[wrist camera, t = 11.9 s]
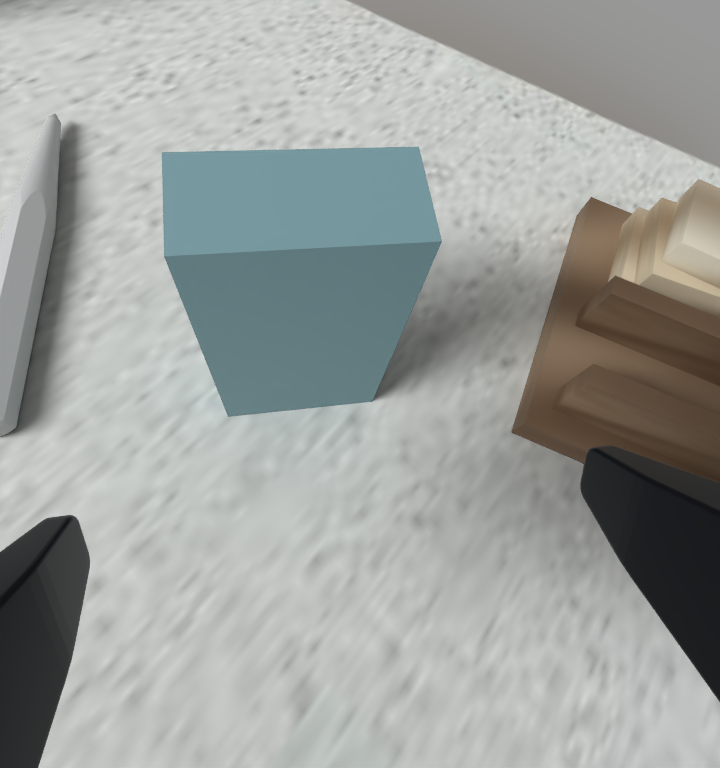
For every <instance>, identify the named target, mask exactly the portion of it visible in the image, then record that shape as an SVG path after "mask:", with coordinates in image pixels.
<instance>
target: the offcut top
mask: <svg viewBox="0 0 720 768" xmlns="http://www.w3.org/2000/svg"><path fill="white" fill-rule="evenodd" d="M660 262H662V263H665V264H667V265H669V266H671V267H673V268H675V269H678V270H680V271H682V272H684V273H686V274H689V275H691V276H693V277H695V278H697V279H699V280H702V281H704V282H706V283H708V284H710V285H713V286H715V287H717V288H719V289H720V188H718V187H716V186H713V185H711V184H709V183H707V182H704V181H702V180H700V179H698V180H697V181H696V182H695V183H694V184H693V185H692V186H691V187H690V188H689V189H688V190H687V191H686V192H685V193H684V194H683V195H682V196H681V197H680V198H679V199H678V201H677V204H676V208H675V211H674V215H673V218H672V222H671V225H670V229H669V233H668V236H667V240H666V243H665V247H664V250H663V254H662V258H661V261H660Z"/></svg>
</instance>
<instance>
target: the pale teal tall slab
mask: <svg viewBox="0 0 720 768" xmlns="http://www.w3.org/2000/svg"><path fill="white" fill-rule="evenodd" d="M162 177H163V221H164V257H165V259H166V262H167V264H168V267H169V269H170V272H171V274H172V277H173V279H174V282H175V284H176V287H177V289H178V292H179V295H180V297H181V300H182V302H183V305H184V307H185V310H186V312H187V315H188V317H189V320H190V322H191V325H192V327H193V330H194V332H195V335H196V337H197V340H198V342H199V345H200V347H201V350H202V352H203V355H204V357H205V360H206V362H207V365H208V367H209V370H210V372H211V375H212V377H213V380H214V382H215V385H216V387H217V390H218V392H219V395H220V397H221V400H222V402H223V405H224V407H225V410H226V412H227V415H228V417H229V416H239V415H248V414H258V413H267V412H277V411H286V410H296V409H305V408H315V407H324V406H334V405H343V404H353V403H362V402H372V401H373V399H374V396H375V394H376V392H377V389H378V387H379V385H380V382H381V380H382V378H383V376H384V373H385V371H386V369H387V366H388V364H389V362H390V359H391V357H392V355H393V353H394V350H395V348H396V346H397V343H398V341H399V339H400V336H401V334H402V332H403V330H404V327H405V325H406V323H407V320H408V318H409V316H410V313H411V311H412V309H413V307H414V304H415V302H416V300H417V297H418V295H419V293H420V290H421V288H422V286H423V284H424V281H425V279H426V277H427V274H428V272H429V270H430V267H431V265H432V263H433V260H434V258H435V256H436V254H437V251H438V249H439V247H440V244H441V242H442V240H441V236H440V232H439V228H438V224H437V220H436V215H435V211H434V207H433V203H432V199H431V195H430V191H429V187H428V183H427V179H426V174H425V170H424V166H423V162H422V158H421V154H420V150H419V147H386V148H341V149H296V150H250V151H205V152H162Z"/></svg>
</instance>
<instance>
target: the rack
mask: <svg viewBox="0 0 720 768" xmlns="http://www.w3.org/2000/svg"><path fill="white" fill-rule="evenodd" d="M631 215H632V214H631V213H629V212H626V211H624V210H621V209H619V208H617V207H614V206H612V205H609V204H607V203H604V202H602V201H599V200H597V199H595V198H592V197H591V198H590V199H589V201H588V202H587V203H586V205H585V206H584V207H583V208H582V210H581V211H580V212H579V214H578V215H577V217H576V221H575V224H574V227H573V230H572V234H571V237H570V240H569V244H568V247H567V250H566V254H565V257H564V260H563V264H562V267H561V270H560V274H559V277H558V280H557V283H556V287H555V290H554V293H553V297H552V300H551V303H550V307H549V310H548V313H547V317H546V320H545V323H544V326H543V330H542V333H541V336H540V340H539V343H538V346H537V350H536V353H535V356H534V360H533V363H532V366H531V369H530V373H529V376H528V379H527V383H526V386H525V389H524V393H523V396H522V399H521V403H520V406H519V409H518V412H517V416H516V419H515V422H514V426H513V429H512V433H514V434H517V435H519V436H521V437H524V438H526V439H528V440H531V441H533V442H535V443H538V444H540V445H542V446H545V447H547V448H549V449H552V450H554V451H556V452H559V453H561V454H563V455H566V456H568V457H570V458H573V459H575V460H577V461H580V462H582V463H585V458H586V454H587V452H588V450H589V449H591V448H592V447H599V446H606V445H612V446H616V447H618V448H621V449H624V450H627V451H630V452H633V453H636V454H639V455H641V456H644V457H647V458H650V459H653V460H656V461H659V462H662V463H664V464H667V465H670V466H673V467H676V468H679V469H682V470H685V471H687V472H690V473H693V474H696V475H699V476H702V477H705V478H708V479H710V480H713V481H716V482H719V483H720V318H717V317H715V316H712V315H710V314H707V313H705V312H703V311H700V310H698V309H695V308H693V307H691V306H688V305H686V304H683V303H681V302H679V301H676V300H674V299H671V298H669V297H666V296H664V295H662V294H659V293H657V292H654V291H652V290H650V289H647V288H645V287H642V286H640V285H637V284H635V283H633V282H630V281H628V280H625V279H623V278H621V277H618V276H616V275H615V276H614V277H613V278H612V279H611V280H610V281H609V282H608V279H609V275H610V272H611V268H612V264H613V260H614V256H615V252H616V248H617V244H618V240H619V236H620V232H621V228H622V225H623V223H624V222H625V221H626V220H627V219H628V218H629V217H630V216H631Z"/></svg>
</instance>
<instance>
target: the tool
mask: <svg viewBox="0 0 720 768" xmlns="http://www.w3.org/2000/svg"><path fill="white" fill-rule="evenodd" d="M60 133H61V122H60V121H59V119H58V117H57V115H56V114H53V115H51V116H48V117H47V118H46V120H45V122H44V125H43V127H42V130H41V132H40V134H39V137H38V139H37V142H36V144H35V146H34V149H33V151H32V154H31V156H30V158H29V161H28V163H27V166H26V168H25V170H24V173H23V175H22V178H21V180H20V182H19V185H18V187H17V190H16V192H15V194H14V197H13V199H12V201H11V204H10V206H9V209H8V211H7V213H6V216H5V220H4V224H3V229H2V233H1V237H0V436H3V435H5V434H7V433H9V432H11V431H12V430H13V429H15V428H16V426H17V421H18V416H19V411H20V406H21V401H22V396H23V391H24V386H25V381H26V376H27V370H28V365H29V360H30V355H31V350H32V345H33V340H34V335H35V330H36V325H37V320H38V315H39V310H40V305H41V300H42V295H43V290H44V285H45V280H46V275H47V270H48V265H49V260H50V255H51V250H52V245H53V240H54V235H55V228H56V211H57V191H58V172H59V152H60Z"/></svg>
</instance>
